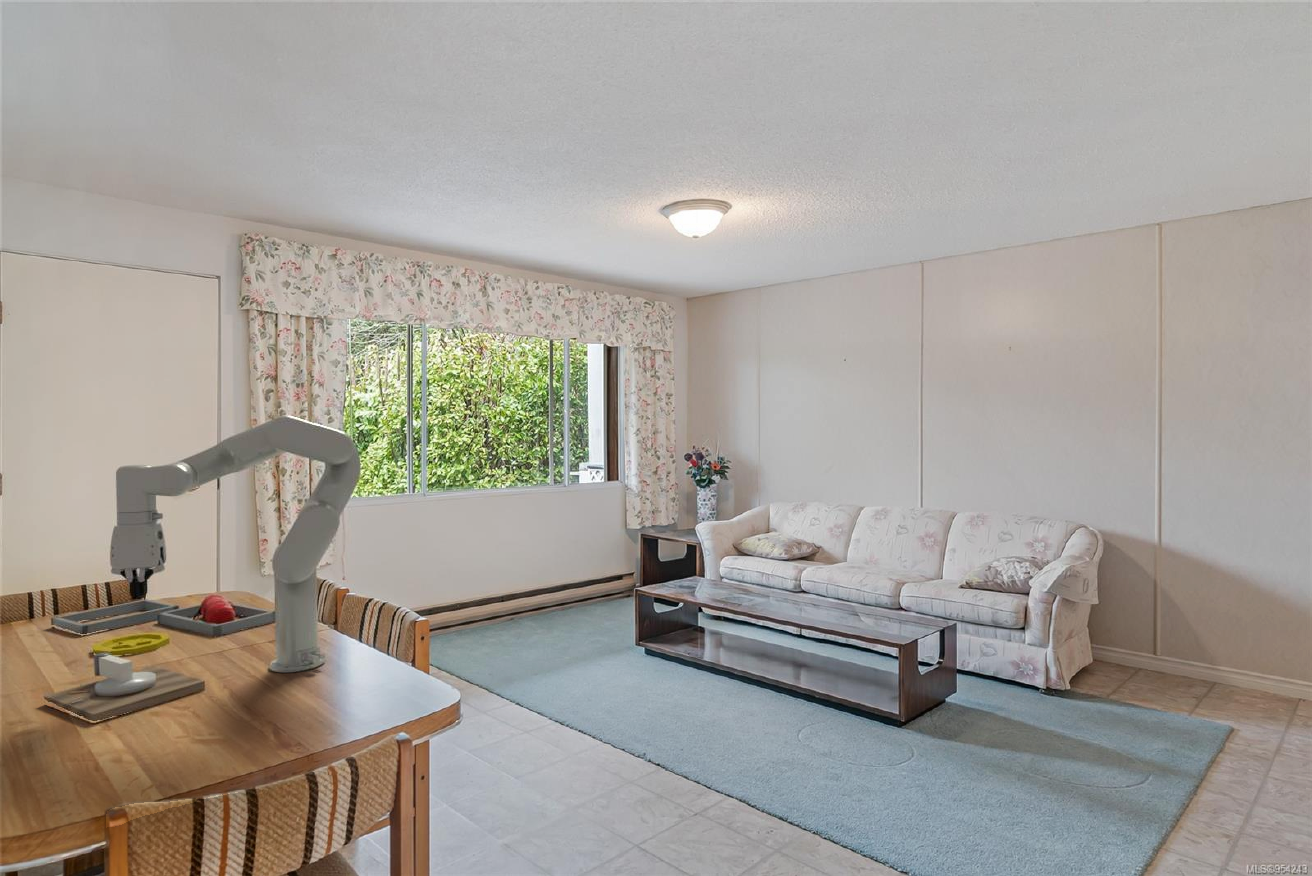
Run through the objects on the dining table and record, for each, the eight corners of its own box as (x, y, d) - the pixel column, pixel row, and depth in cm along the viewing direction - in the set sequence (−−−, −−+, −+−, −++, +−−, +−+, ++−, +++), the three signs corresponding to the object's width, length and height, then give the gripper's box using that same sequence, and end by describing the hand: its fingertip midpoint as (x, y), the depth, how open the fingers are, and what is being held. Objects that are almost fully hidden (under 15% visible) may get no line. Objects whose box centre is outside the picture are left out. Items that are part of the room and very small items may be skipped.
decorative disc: (103, 644, 209) (103, 637, 209) (176, 636, 215) (176, 630, 215) (81, 662, 193) (81, 654, 193) (161, 653, 200) (161, 646, 200)
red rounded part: (189, 613, 214) (182, 597, 235) (195, 640, 215) (188, 622, 236) (236, 600, 221) (226, 586, 242) (241, 626, 222) (231, 610, 242)
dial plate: (204, 689, 170) (204, 680, 170) (93, 724, 151) (93, 713, 151) (154, 674, 182) (153, 665, 181) (44, 705, 162) (43, 694, 162)
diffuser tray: (179, 615, 239) (178, 605, 239) (82, 636, 216) (81, 626, 216) (147, 608, 249) (146, 599, 249) (51, 627, 226) (51, 618, 226)
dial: (165, 683, 168) (165, 658, 168) (110, 699, 159) (109, 672, 159) (126, 671, 177) (125, 647, 177) (71, 686, 168) (70, 660, 168)
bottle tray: (277, 621, 229) (277, 611, 229) (216, 636, 213) (216, 626, 213) (218, 609, 245) (218, 600, 245) (157, 623, 229) (157, 613, 229)
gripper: (179, 516, 177) (181, 593, 178) (109, 517, 175) (111, 596, 175) (164, 520, 170) (166, 600, 170) (91, 522, 168) (93, 603, 168)
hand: (138, 598), depth 173 cm, fingers closed
